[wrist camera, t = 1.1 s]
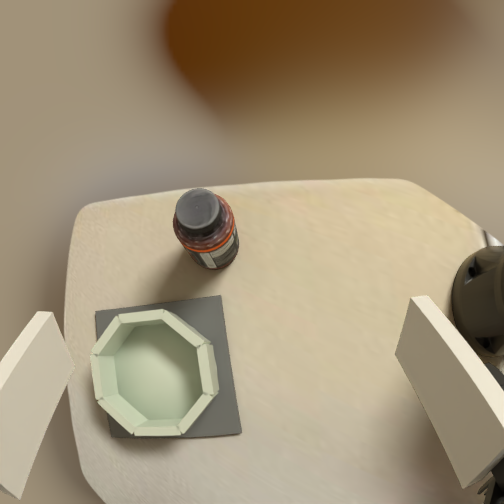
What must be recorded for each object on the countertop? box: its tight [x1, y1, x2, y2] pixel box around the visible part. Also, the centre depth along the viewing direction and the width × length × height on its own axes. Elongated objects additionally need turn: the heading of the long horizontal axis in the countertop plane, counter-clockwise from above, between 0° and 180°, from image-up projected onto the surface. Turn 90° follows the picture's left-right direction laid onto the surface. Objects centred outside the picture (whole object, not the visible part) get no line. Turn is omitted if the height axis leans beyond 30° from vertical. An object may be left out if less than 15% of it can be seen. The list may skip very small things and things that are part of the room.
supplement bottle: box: [173, 188, 239, 269], centre depth 33 cm, size 6×6×11 cm
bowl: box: [90, 309, 219, 436], centre depth 31 cm, size 13×13×5 cm
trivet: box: [95, 295, 242, 438], centre depth 34 cm, size 16×16×1 cm
